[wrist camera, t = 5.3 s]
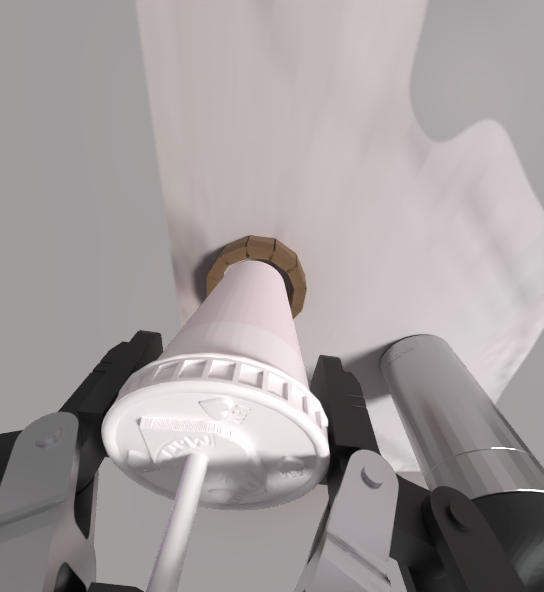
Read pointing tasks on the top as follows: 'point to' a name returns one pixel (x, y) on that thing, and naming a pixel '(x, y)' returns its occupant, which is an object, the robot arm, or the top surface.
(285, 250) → the brown polygonal ring
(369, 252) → the top surface
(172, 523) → the smoothie
